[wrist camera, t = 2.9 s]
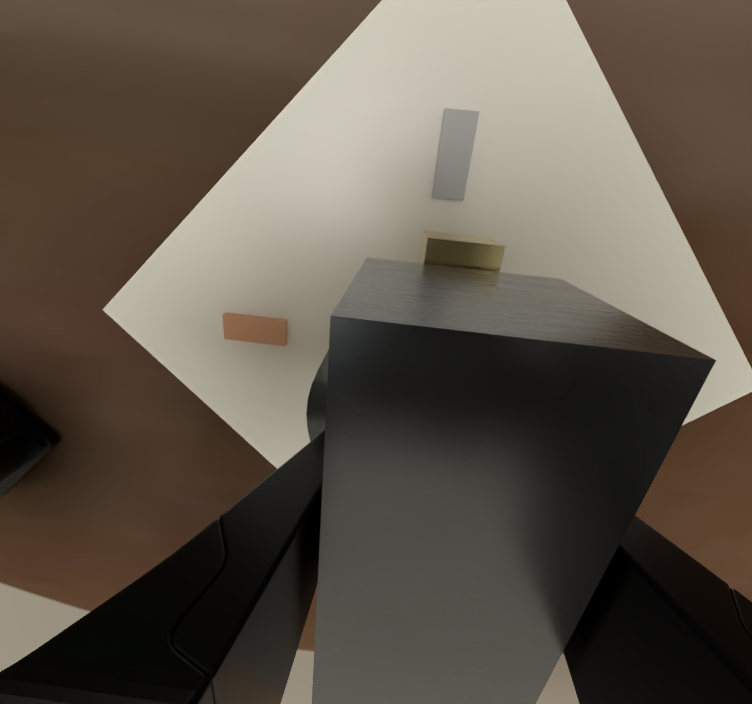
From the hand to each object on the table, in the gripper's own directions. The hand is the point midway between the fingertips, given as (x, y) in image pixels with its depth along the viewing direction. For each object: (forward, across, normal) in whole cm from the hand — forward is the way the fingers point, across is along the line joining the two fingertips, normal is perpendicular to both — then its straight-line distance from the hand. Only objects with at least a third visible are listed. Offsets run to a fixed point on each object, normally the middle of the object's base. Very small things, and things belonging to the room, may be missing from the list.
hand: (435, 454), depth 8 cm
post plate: (+8, 0, 0) cm, 8 cm away
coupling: (+3, 0, 0) cm, 3 cm away
